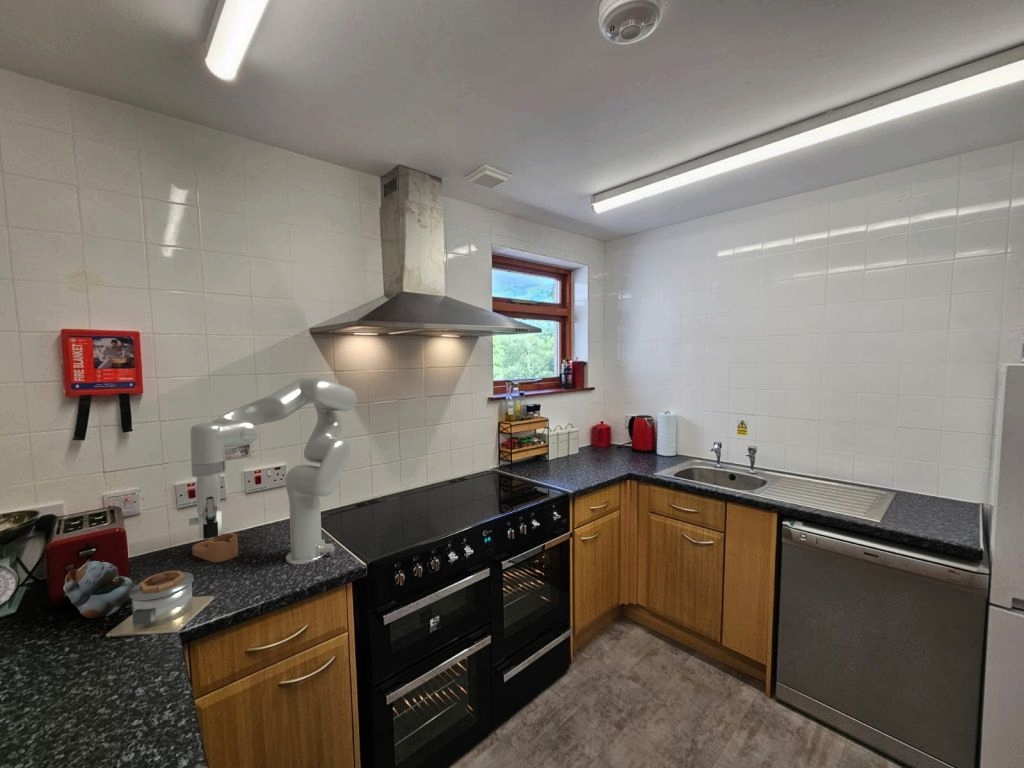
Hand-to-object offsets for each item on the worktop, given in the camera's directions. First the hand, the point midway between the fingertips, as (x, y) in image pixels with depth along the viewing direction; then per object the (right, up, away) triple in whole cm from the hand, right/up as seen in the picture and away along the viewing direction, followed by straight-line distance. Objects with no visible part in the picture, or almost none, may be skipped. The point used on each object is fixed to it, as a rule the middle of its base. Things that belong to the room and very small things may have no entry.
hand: (210, 533), depth 116 cm
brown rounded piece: (-21, -19, +31) cm, 42 cm away
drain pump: (0, -1, 0) cm, 1 cm away
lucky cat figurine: (-29, -21, -1) cm, 35 cm away
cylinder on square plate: (-8, -20, -5) cm, 23 cm away
